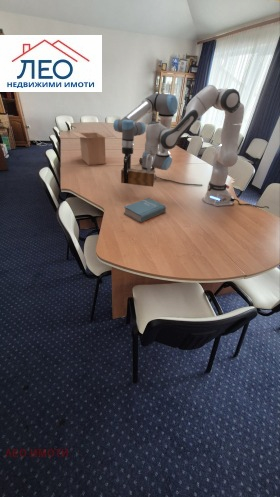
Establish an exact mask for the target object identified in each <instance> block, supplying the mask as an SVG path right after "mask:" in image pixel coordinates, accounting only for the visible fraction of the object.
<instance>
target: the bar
mask: <svg viewBox="0 0 280 497" xmlns="http://www.w3.org/2000/svg"><path fill="white" fill-rule="evenodd" d="M123 172H124V167H122V168H121V170H120V183H121V184H126V185H134V186H135V185H136V186H144V187H153V188H154V185H155V179H156V178H155V174H156V170H155V171H150V174H148V173H147V170H141V169H136V168H131V169H129V168H128V183H124V174H123ZM154 178H155V179H154Z"/></svg>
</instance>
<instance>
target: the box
mask: <svg viewBox="0 0 280 497" xmlns="http://www.w3.org/2000/svg"><path fill="white" fill-rule="evenodd" d="M70 133H71V134H72V135H74V136H75V137H77V138H79V144H80V153H81V160H83V162H85V163H86V165H87V166H95V165H97V166H98V165H106V163H107V162H106V158H107V157H106V138H113V137H114V136H113V135H111V134H109V133H108V132H105V131H98V132H96V131H95V130H92V129H91V130H77V132H76V131H70Z"/></svg>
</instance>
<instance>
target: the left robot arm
mask: <svg viewBox="0 0 280 497" xmlns="http://www.w3.org/2000/svg"><path fill="white" fill-rule="evenodd" d="M178 109H179V101H178V98H177V96H176V95H175V94H171V93H159V92H158V93H157V92H156V93H153V94H150V95H148V96H147V97H146V98H144V99H143V100H142V101H141V103H140V104H139V105H138V106H137V107H135V108H134V109H133V110H131V111H130V112H128V113H127V114H126V115H125V116H124V117H122V118H121V119H118V118H117V119H115V120H114V121H113V130H114V131H115V132H118V133H121V153H122V154H123V155H124V156H123V168H124V172H123V174H124V183H123V184H126V183H128V168H129V169H132V168H131V167H132V166H131V165H132V155H133V154H134V144H135V141H134V140H135V137H138V136H142V135H144V134H145V133H146V124H145V123H143V122H141V121H140V120H141V119H142V118H144V117H145V116H146V115H147V114H150V113H152V112H155V113H158V117H159V122H160V123H161V124H162V125H163V126H165V127H166V128H169V129H170V130H172V119H173V118H174V117H175V114H176V113H177V112H178ZM141 158H142V164H141V169H140V170H147V168H146V158H147V155H146V153H145V150H144V151H143V152H142V157H141ZM172 162H173V157H172V156H171V152H170V149H169V150H168V149H165V148H163V146H162V145H161V144H159V147H158V154H156V156H155V159H154V162H153V164H152V169H151V170H150V171H155V172H156V169H157V170H162V171H167V170H169V169H170V167H171V165H172ZM156 178H157V179H160V180H163V181H167V182H173V183H175V184H180V185H189V186H199V183H198V184H197V183H183V182H178V181H175V180H171V179H165V178H161V177H159V176H157V174H156V173H155V178H154V180H156ZM200 186H203V184H200Z"/></svg>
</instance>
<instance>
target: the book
mask: <svg viewBox="0 0 280 497" xmlns="http://www.w3.org/2000/svg"><path fill="white" fill-rule="evenodd" d="M166 209H167V207H166V205H165V204H162V203H161V202H159V201H156V200H154V199H152V198H151V197H148V198H145V199H142V200H139V201H136V202H134V203H131V204H127V205H125V206H124V212H123V214H124V215H126V216H128V217H130V219H133V220H134V221H137V222H138V223H143V222H145V221H147V220H150V219H152V218H154V217H156V216H158V215H161V214H164V213H166Z"/></svg>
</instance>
